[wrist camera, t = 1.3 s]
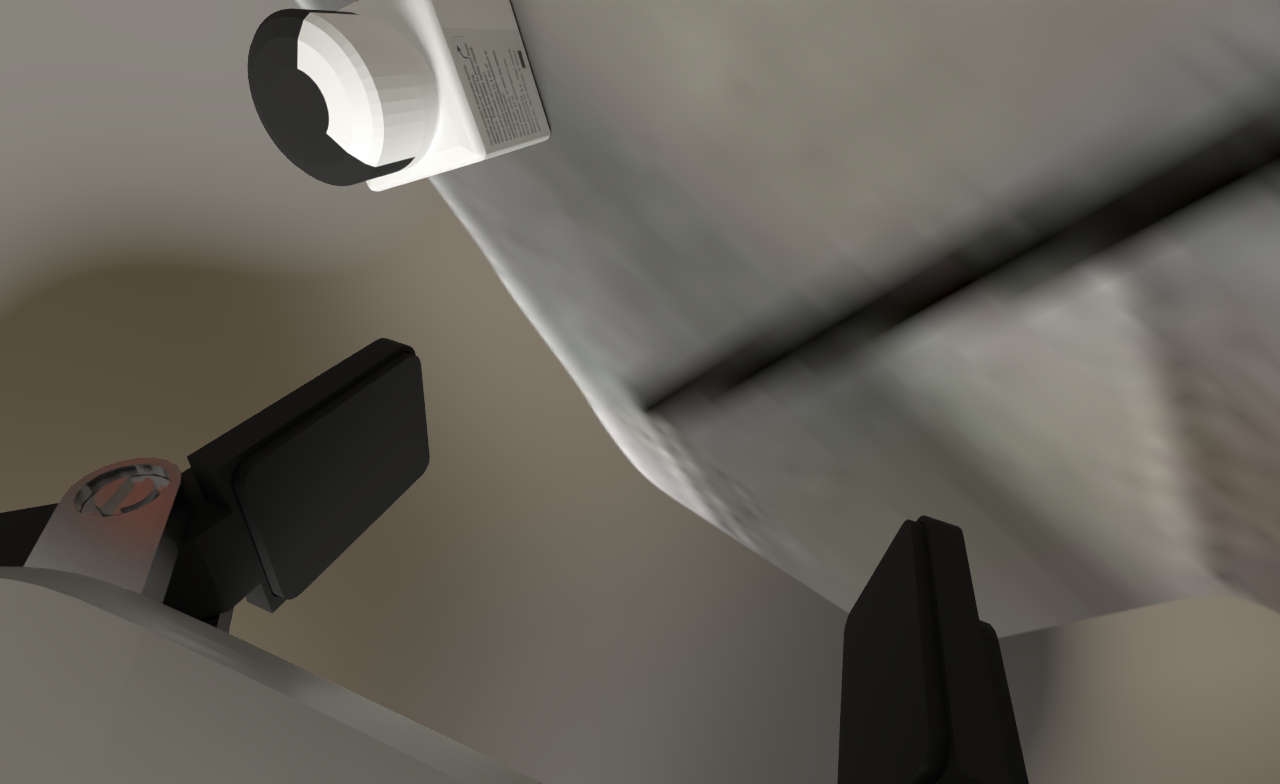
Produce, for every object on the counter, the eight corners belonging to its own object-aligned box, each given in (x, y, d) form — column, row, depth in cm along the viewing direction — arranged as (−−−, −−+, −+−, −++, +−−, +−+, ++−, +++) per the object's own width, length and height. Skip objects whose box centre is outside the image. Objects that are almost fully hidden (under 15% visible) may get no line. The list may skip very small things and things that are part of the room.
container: (452, 168, 36) (287, 219, 26) (399, 31, 33) (185, 27, 23) (554, 137, 33) (414, 182, 23) (507, -17, 30) (317, -47, 20)
